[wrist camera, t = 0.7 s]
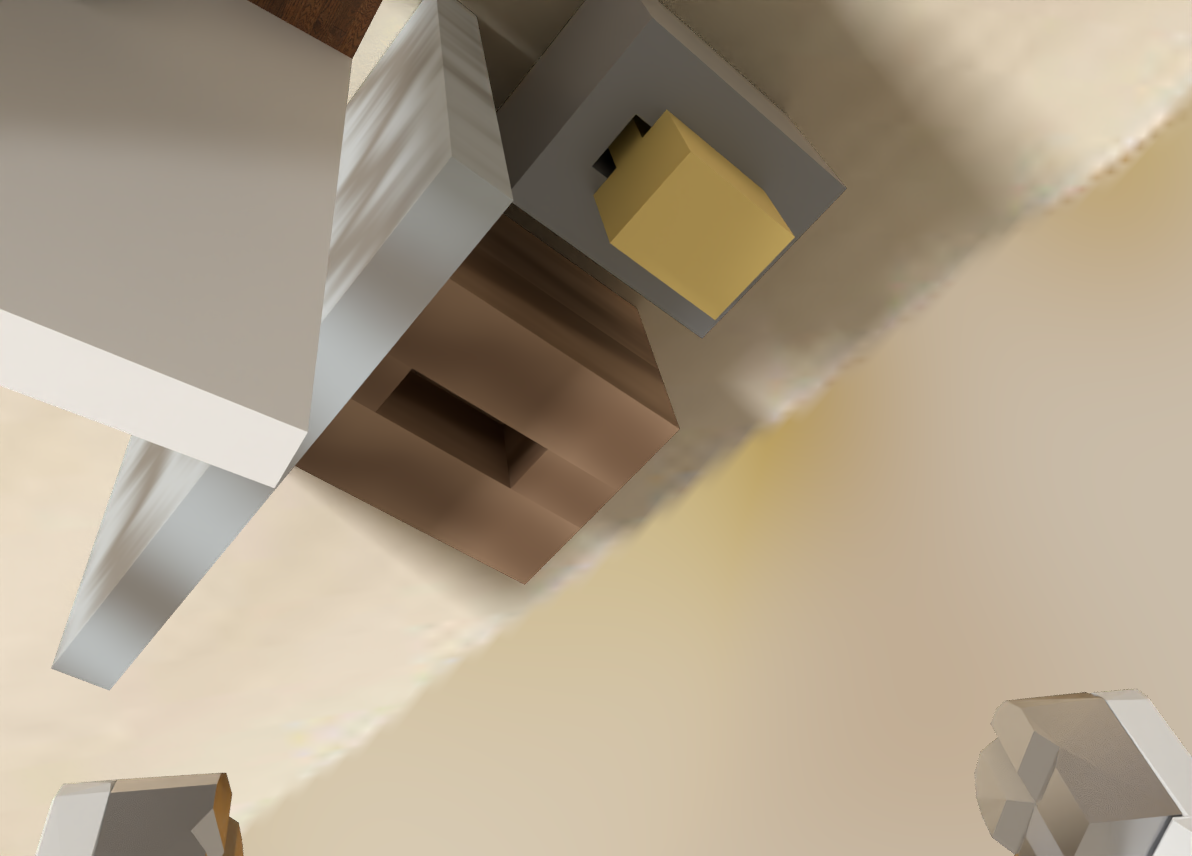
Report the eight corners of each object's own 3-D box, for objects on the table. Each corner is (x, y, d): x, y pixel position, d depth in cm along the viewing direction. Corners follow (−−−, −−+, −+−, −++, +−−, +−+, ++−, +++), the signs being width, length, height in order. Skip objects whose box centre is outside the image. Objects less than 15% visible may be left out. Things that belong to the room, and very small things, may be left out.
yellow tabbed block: (646, 73, 42) (690, 151, 36) (737, 150, 44) (794, 237, 38) (578, 154, 44) (609, 243, 37) (670, 224, 46) (714, 320, 39)
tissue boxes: (435, -17, 43) (451, 156, 28) (723, 214, 50) (855, 445, 36) (151, 375, 51) (51, 668, 36) (436, 525, 58) (448, 818, 44)
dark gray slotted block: (615, -38, 43) (652, 17, 37) (786, 115, 48) (846, 188, 42) (490, 120, 46) (505, 197, 40) (663, 250, 51) (701, 338, 44)
